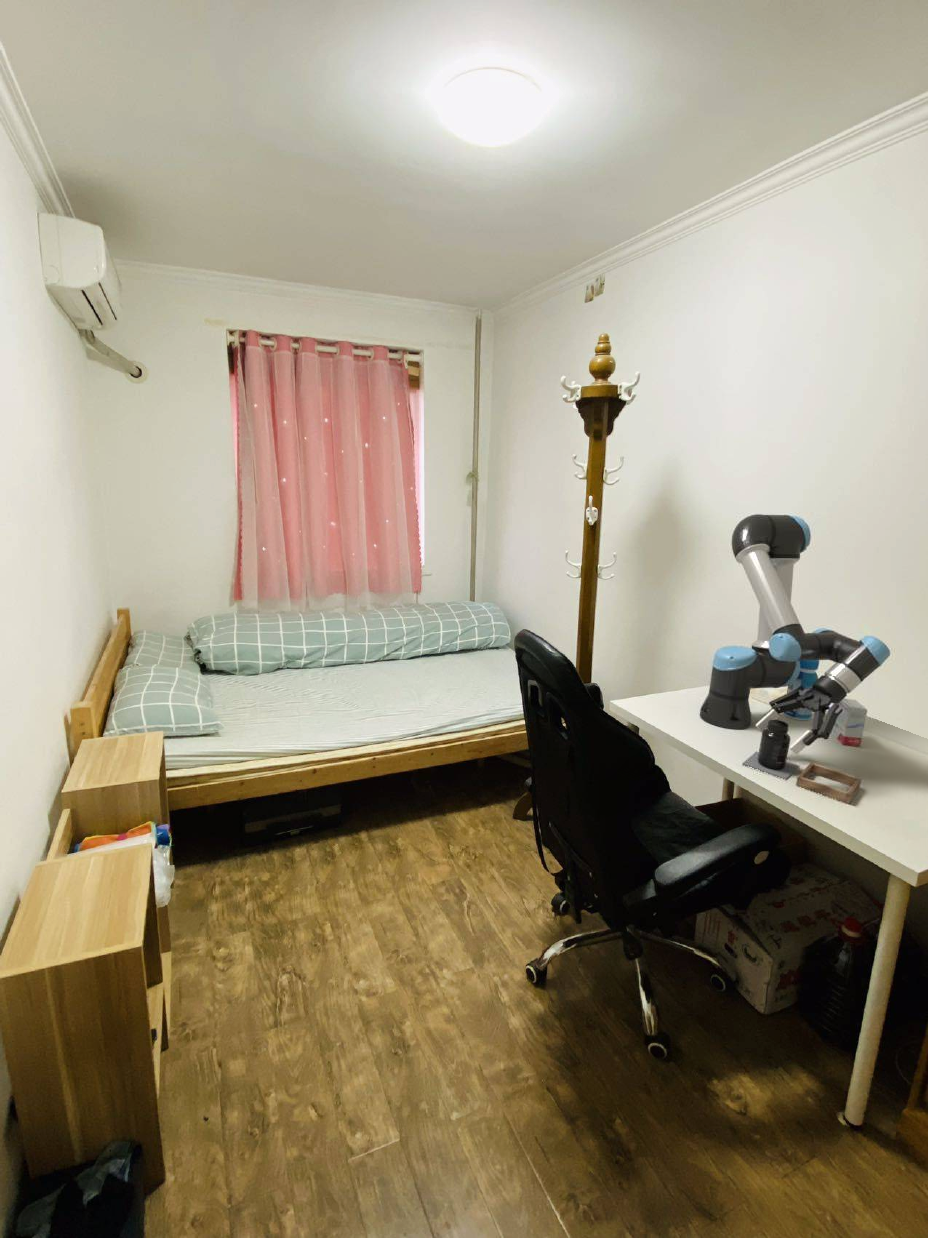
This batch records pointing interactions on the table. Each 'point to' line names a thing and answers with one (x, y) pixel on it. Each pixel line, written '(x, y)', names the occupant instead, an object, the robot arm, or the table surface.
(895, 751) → the table surface
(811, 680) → the beverage bottle
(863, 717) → the ink box
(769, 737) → the supplement bottle
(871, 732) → the table surface
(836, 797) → the walnut open box
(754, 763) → the grey rubber mat
